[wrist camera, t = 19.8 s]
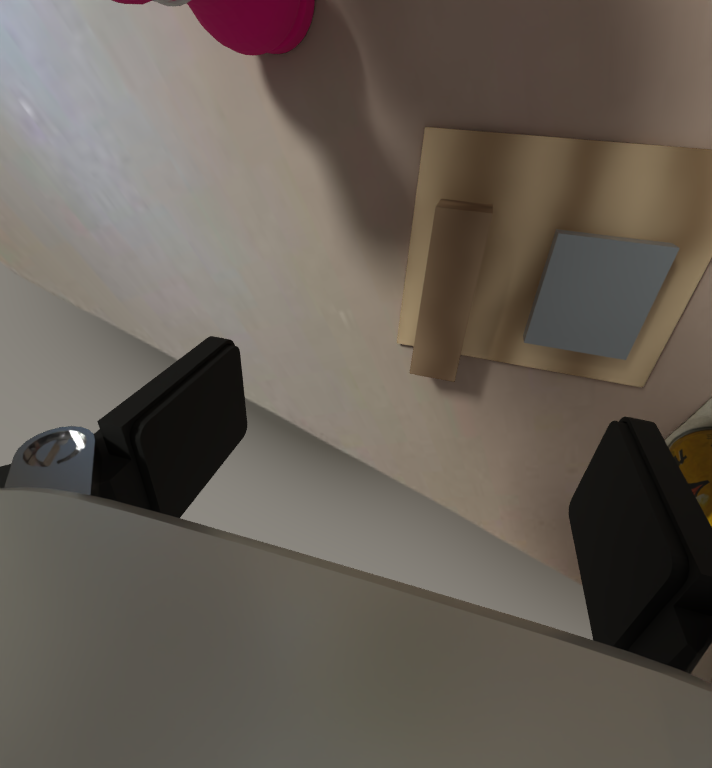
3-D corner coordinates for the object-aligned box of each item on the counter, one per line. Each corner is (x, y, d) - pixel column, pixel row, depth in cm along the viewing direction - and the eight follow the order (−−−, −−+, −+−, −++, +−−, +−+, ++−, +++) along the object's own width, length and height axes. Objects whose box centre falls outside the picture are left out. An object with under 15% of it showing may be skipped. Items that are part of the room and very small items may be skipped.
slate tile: (555, 228, 32) (522, 333, 37) (558, 233, 30) (523, 342, 35) (670, 242, 30) (620, 350, 35) (679, 248, 29) (625, 360, 34)
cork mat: (397, 340, 41) (396, 343, 41) (425, 127, 31) (424, 127, 31) (640, 384, 37) (642, 387, 36) (761, 153, 27) (766, 154, 27)
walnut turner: (416, 353, 41) (409, 373, 37) (440, 198, 33) (435, 207, 30) (457, 360, 40) (454, 382, 37) (492, 204, 32) (492, 213, 29)
